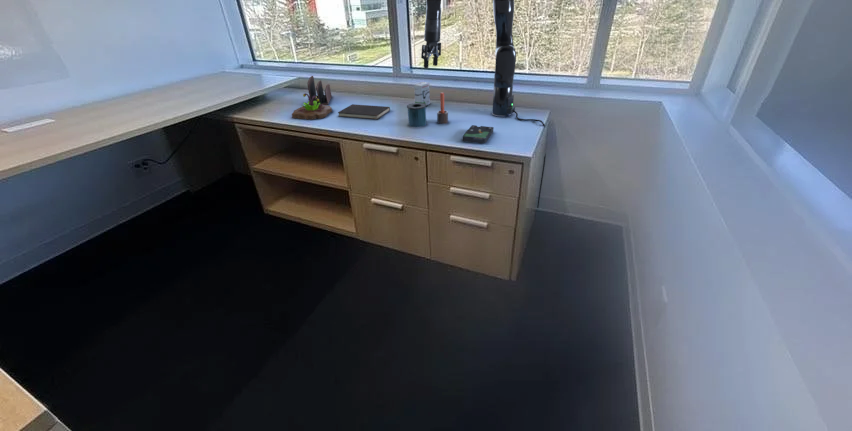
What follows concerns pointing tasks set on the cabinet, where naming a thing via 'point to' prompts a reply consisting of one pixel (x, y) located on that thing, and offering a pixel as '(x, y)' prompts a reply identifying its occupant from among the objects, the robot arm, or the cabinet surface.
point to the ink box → (422, 93)
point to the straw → (442, 102)
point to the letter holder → (319, 92)
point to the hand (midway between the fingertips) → (430, 66)
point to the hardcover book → (364, 111)
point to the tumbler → (417, 117)
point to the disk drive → (477, 134)
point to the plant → (311, 110)
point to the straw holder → (442, 117)
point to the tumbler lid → (416, 107)
